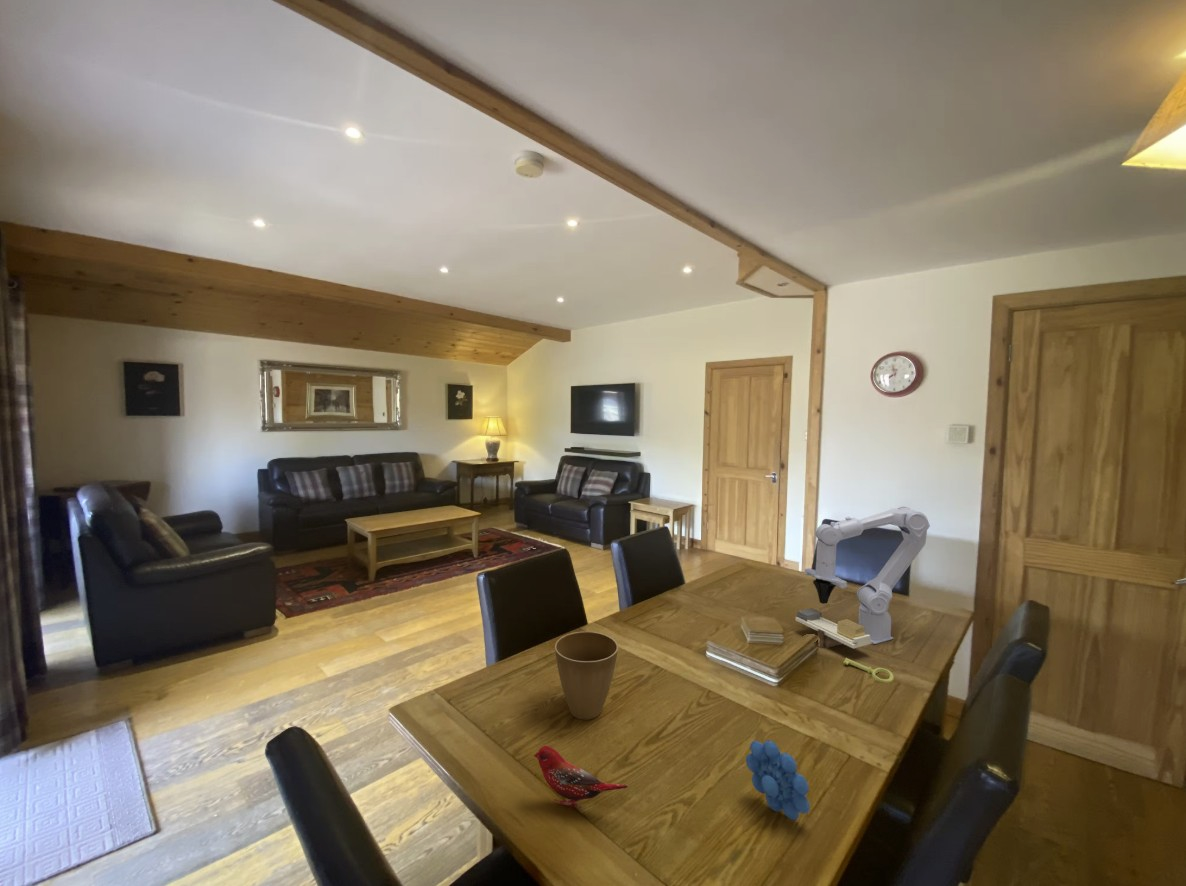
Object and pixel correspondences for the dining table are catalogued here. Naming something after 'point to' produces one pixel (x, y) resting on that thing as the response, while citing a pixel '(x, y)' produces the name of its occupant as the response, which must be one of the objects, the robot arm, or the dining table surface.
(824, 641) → the fulcrum stand
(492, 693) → the dining table surface
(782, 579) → the dining table surface
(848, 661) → the key
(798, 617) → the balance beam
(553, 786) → the decorative bird figurine
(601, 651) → the plant pot
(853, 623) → the block
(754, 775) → the blue flower
